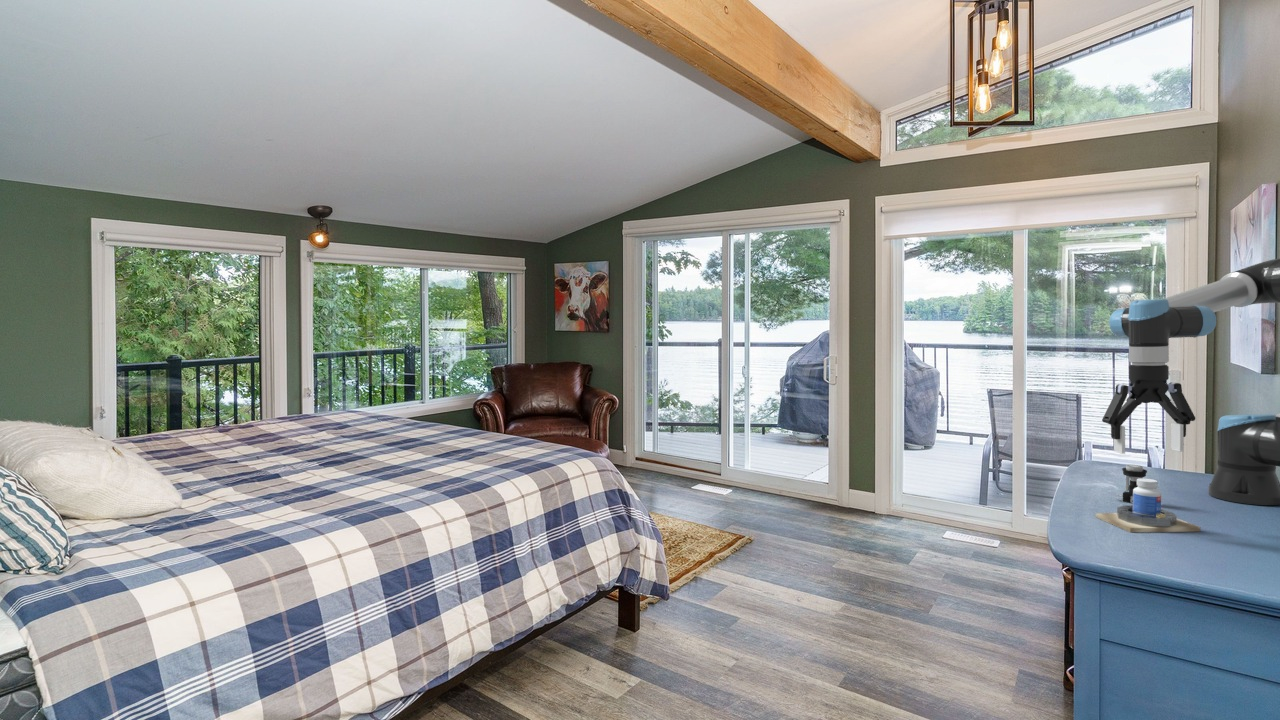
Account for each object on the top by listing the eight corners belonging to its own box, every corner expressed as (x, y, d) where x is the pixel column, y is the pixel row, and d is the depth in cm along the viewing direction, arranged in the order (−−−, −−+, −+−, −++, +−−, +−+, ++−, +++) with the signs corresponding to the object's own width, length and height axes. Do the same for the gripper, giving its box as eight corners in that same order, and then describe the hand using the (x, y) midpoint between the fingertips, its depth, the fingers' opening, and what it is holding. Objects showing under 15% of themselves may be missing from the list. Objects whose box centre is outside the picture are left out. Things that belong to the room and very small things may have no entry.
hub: (1151, 513, 162) (1152, 502, 162) (1187, 526, 151) (1188, 514, 151) (1107, 513, 162) (1107, 502, 162) (1139, 527, 151) (1139, 515, 151)
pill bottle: (1162, 524, 153) (1163, 483, 152) (1133, 521, 156) (1134, 481, 155) (1159, 518, 157) (1159, 478, 157) (1131, 515, 160) (1132, 476, 160)
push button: (1114, 502, 176) (1114, 465, 175) (1117, 498, 179) (1118, 462, 179) (1144, 506, 171) (1145, 469, 170) (1147, 502, 175) (1148, 465, 174)
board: (1160, 516, 162) (1160, 512, 162) (1200, 531, 150) (1200, 527, 150) (1095, 517, 163) (1095, 513, 163) (1130, 532, 151) (1130, 528, 151)
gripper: (1188, 361, 158) (1188, 446, 159) (1085, 364, 159) (1085, 450, 160) (1215, 362, 150) (1214, 452, 151) (1106, 366, 151) (1106, 456, 152)
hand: (1148, 451), depth 156 cm, fingers open, 13 cm apart
